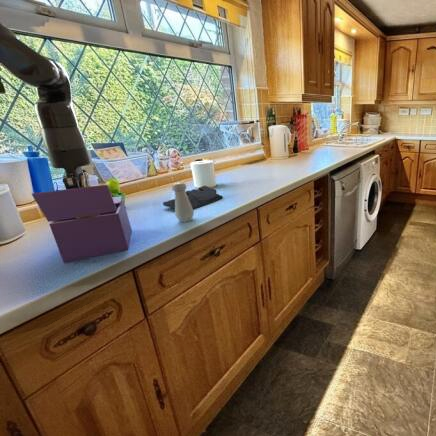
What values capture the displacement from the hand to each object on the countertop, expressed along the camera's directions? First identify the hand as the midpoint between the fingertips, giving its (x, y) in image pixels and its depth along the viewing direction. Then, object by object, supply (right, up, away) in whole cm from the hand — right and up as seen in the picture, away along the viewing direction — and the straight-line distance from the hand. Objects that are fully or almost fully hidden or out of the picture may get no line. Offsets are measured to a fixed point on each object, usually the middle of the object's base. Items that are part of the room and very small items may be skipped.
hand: (87, 212), depth 79 cm
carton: (-1, -9, +7) cm, 12 cm away
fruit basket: (-24, +3, +43) cm, 50 cm away
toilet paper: (+2, +15, +73) cm, 74 cm away
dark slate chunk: (+8, +5, +45) cm, 46 cm away
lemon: (0, -3, +1) cm, 4 cm away
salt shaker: (+14, -2, +24) cm, 28 cm away
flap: (+3, +2, -6) cm, 7 cm away
